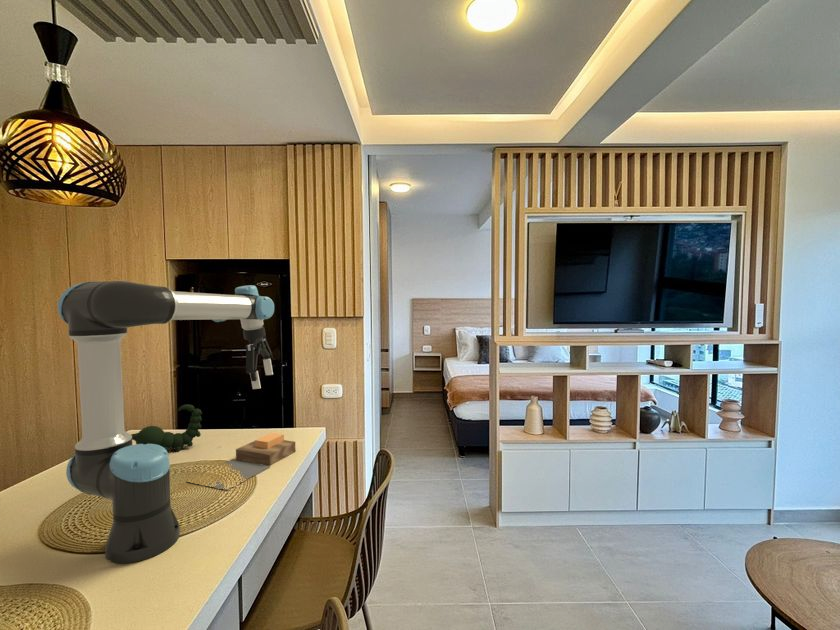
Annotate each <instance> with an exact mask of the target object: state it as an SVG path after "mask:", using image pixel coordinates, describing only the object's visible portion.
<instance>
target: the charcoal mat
mask: <svg viewBox="0 0 840 630" xmlns="http://www.w3.org/2000/svg"><path fill="white" fill-rule="evenodd" d="M225 463H226V464H228V466H229V464H230V466H231V464H232V466H231V468H232V470H233V468H234V470H235V469H236V470H237V471H238V470H239V471H240V474H241V477H242V475H243V477H244V478H245V479H246V481H248V480H249V479H248V478H250V479H252V478H253V477H252V476H254V477H255V476H257V475H259V474H262V472H264V471H267V470H268V469H270V468H271V466H269V465H263V464H257V463H252V462H246V461H240V460H235V459H230V460H228V461H226V462H224V463H222V464H220V465H219V466H221V465H223V464H225ZM226 466H227V465H226ZM232 472H233V471H232ZM234 472H235V471H234ZM241 472H242V473H241ZM237 473H238V472H237ZM246 477H247V478H246ZM251 477H252V478H251ZM216 478H217V477H216ZM242 479H243V478H242ZM247 479H248V480H247ZM220 480H221V479H220ZM215 481H216V480H215ZM217 481H218V480H217ZM242 481H243V480H242ZM219 483H220V482H216V484H219ZM211 484H212V483H211ZM211 484H210V483H209V485H211ZM213 487H214V486H213ZM221 487H222V488H221ZM215 488H219V489H218V490H220V489H223V483H222V484H221V485H220V484H219V485H218V486H217V485H216V486H215ZM215 488H214V489H215ZM229 489H230V488H229ZM229 489H225V488H224V489H223V490H222V491H224V490H228V491H230V490H231V489H230V490H229Z"/></svg>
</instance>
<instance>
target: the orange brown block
mask: <svg viewBox="0 0 840 630" xmlns="http://www.w3.org/2000/svg"><path fill="white" fill-rule="evenodd" d="M284 440H285V434H284V433H277V432H270V433H268V434H266V435H264V436H261V437H260V438H257V439H255V440H254V441H255V447H260V448H267V449H268V448H270V447H272V446H274V445H276V444H278V443H280V442H282V441H284Z"/></svg>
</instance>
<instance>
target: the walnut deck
mask: <svg viewBox="0 0 840 630" xmlns="http://www.w3.org/2000/svg"><path fill="white" fill-rule="evenodd" d="M296 449H297V448H296V441H293V440H285V439H284V441H282V442H280V443H278V444H276V445H274V446H272V447H270V448H268V449H267V448H260V447H255V440H254V441H251V442H249V443H247V444H245V445H242V446H240V447H238V448H236V449H235V459H236V460H237V461H240V460H241V461H242V462H248V463H254V464H259V465H265V466H270V467H271V466H272V465H275V464H276V463H278V462H280V461H281V460H283V459H285V458H288V457H289V456H291V455H292V454H295V453H296Z"/></svg>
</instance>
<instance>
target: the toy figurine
mask: <svg viewBox="0 0 840 630" xmlns="http://www.w3.org/2000/svg"><path fill="white" fill-rule="evenodd" d="M183 410H186V411H188V412H191V416H190V418H189V421H190V422H189V423H188V427H187V428H186V429H185V431H184V432H181V433H180V432H178V433H173V432H171V431H164V430H163V429H162V428H161V427H160V426H157V425H149V426H145V427H143V428H142V429H141V430H139V431H138V432H136V433H132V434H131V435H132V441H134V442H135V443H136V444H144V445H145V444H156V445H160V446H162V447H164V448H165V449H166V450H167V452H169V451H170V450H171V449H173V450H175V451H176V452H181V450H182V448H183V447H184V446H186V445H187V447H192V446H193V439H194V438H196V437H197V438H200V437H201V432H200V431H199V429H201V428H202V424H201V421H202V420H203V419H202V414H203V412H202V410H201V409H200V408H195V406H194V405H193V404H187V403H186V404H183V405H181V406H179V408H178V409H177V412H180V411H183ZM136 444H135V445H136Z"/></svg>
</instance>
